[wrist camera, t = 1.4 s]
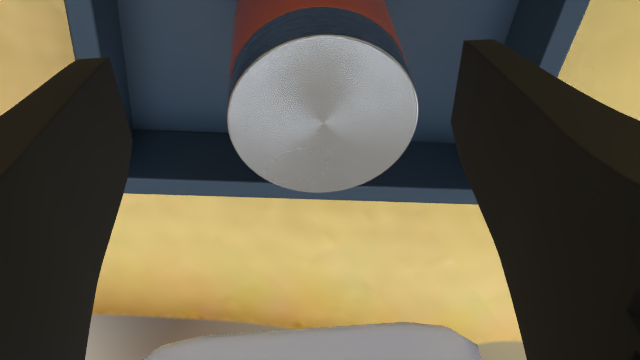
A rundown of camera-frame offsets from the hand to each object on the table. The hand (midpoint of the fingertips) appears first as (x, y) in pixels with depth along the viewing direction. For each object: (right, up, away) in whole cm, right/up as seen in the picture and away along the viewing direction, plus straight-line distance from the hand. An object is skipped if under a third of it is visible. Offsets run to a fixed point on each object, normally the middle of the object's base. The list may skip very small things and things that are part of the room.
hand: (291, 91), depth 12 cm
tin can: (0, +4, +8) cm, 9 cm away
